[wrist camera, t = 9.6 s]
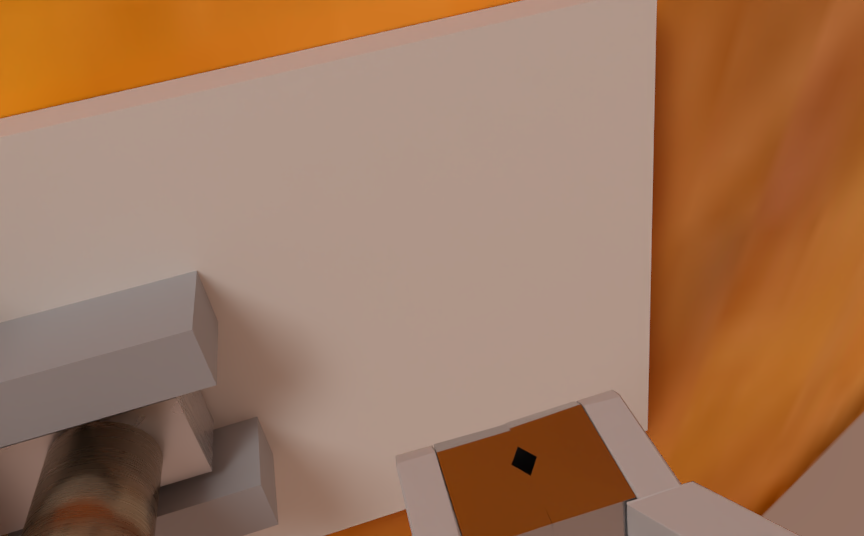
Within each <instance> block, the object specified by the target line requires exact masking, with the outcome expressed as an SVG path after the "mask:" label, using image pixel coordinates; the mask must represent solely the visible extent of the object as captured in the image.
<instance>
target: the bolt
mask: <svg viewBox="0 0 864 536" xmlns="http://www.w3.org/2000/svg"><path fill="white" fill-rule="evenodd" d="M213 425H214V419H213V417H212V415H211V413H210V411H209V409H208V407H207V404H206V402H205V400H204V398H203V396H202V394H201V391H200V390H198V391H195V392H191V393H188V394H184V395H181V396H177V397H174V398H170V399H167V400H164V401H160V402H157V403H153V404H150V405H146V406H143V407H139V408H136V409H132V410H129V411H126V412H122V413H119V414H115V415H112V416H108V417H105V418H101V419H98V420H94V421H91V422H87V423H84V424H81V425H77V426H74V427H70V428H67V429H63V430H60V431H56V432H53V433H49V434H46V435H42V436H39V437H36V438H32V439H29V440H25V441H22V442H18V443H15V444H11V445H8V446H4V447H1V448H0V536H1V535H5V534H8V533H11V532H15V531H18V530H21V529H23V531H22V534H21V536H155V528H156V519H157V510H158V501H159V493H160V487H162V486H165V485H168V484H172V483H175V482H178V481H181V480H185V479H188V478H191V477H195V476H198V475H201V474H204V473H208V472H211V471H212V462H213Z"/></svg>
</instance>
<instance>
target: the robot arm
mask: <svg viewBox="0 0 864 536" xmlns="http://www.w3.org/2000/svg"><path fill="white" fill-rule="evenodd" d="M434 449H435V450H434ZM395 457H396V468H397V473H398V477H399V481H400V485H401V490H402V494H403V498H404V502H405V507H406V511H407V515H408V519H409V524H410V528H411V532H412V536H800V535H798V534H796V533H794V532H792V531H790V530H788V529H786V528H784V527H782V526H780V525H778V524H776V523H774V522H772V521H770V520H768V519H766V518H764V517H762V516H760V515H758V514H756V513H754V512H752V511H750V510H749V509H747V508H745V507H743V506H741V505H739V504H737V503H735V502H733V501H731V500H729V499H727V498H725V497H723V496H721V495H719V494H717V493H715V492H713V491H711V490H709V489H707V488H705V487H703V486H701V485H699V484H697V483H695V482H694V481H692V482H688V483H685V484H681V483H680V482H679V480H678V479H677V477H676V476H675V474H674V473H673V471H672V470H671V468H670V467H669V466H668V464H667V463H666V461H665V460H664V458H663V457H662V455H661V454H660V452H659V451H658V450H657V448H656V447H655V445H654V444H653V442H652V441H651V439H650V438H649V436H648V435H647V433H646V432H645V431H644V429H643V428H642V426H641V425H640V423H639V422H638V420H637V419H636V417H635V416H634V415H633V413H632V412H631V410H630V409H629V407H628V406H627V404H626V403H625V401H624V400H623V399H622V397H621V396H620V394H619V393H617V392H615V391H614V390H610V391H606V392H603V393H600V394H597V395H594V396H590V397H587V398H584V399H581V400H577V401H576V402H574V401H573V402H570V403H567V404H563V405H560V406H557V407H554V408H551V409H548V410H545V411H542V412H538V413H535V414H532V415H529V416H526V417H523V418H520V419H517V420H513V421H510V422H507V423H505V424H504V425H501V426H497V427H494V428H490V429H487V430H483V431H479V432H476V433H472V434H469V435H465V436H461V437H458V438H454V439H451V440H447V441H444V442H440V443H436V444H434V448H433V445H431V446H428V447H424V448H421V449H417V450H414V451H410V452H407V453H403V454H400V455H396V456H395Z"/></svg>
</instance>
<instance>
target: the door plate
mask: <svg viewBox="0 0 864 536" xmlns="http://www.w3.org/2000/svg"><path fill="white" fill-rule="evenodd" d="M656 13H657V0H523V1H518V2H514V3H509V4H505V5H501V6H496V7H492V8H487V9H483V10H479V11H474V12H470V13H465V14H461V15H456V16H452V17H448V18H443V19H439V20H434V21H430V22H426V23H421V24H417V25H412V26H408V27H403V28H399V29H395V30H390V31H386V32H381V33H377V34H373V35H368V36H364V37H359V38H355V39H350V40H346V41H342V42H337V43H333V44H328V45H324V46H320V47H315V48H311V49H306V50H302V51H297V52H293V53H289V54H284V55H280V56H275V57H271V58H267V59H262V60H258V61H253V62H249V63H244V64H240V65H236V66H231V67H227V68H222V69H218V70H214V71H209V72H205V73H200V74H196V75H192V76H187V77H183V78H178V79H174V80H169V81H165V82H161V83H156V84H152V85H147V86H143V87H139V88H134V89H130V90H125V91H121V92H116V93H112V94H108V95H103V96H99V97H94V98H90V99H86V100H81V101H77V102H72V103H68V104H63V105H59V106H55V107H50V108H46V109H41V110H37V111H33V112H28V113H24V114H19V115H15V116H10V117H6V118H2V119H0V448H1V447H4V446H8V445H11V444H15V443H18V442H22V441H25V440H29V439H32V438H36V437H39V436H42V435H46V434H49V433H53V432H56V431H60V430H63V429H67V428H70V427H74V426H77V425H81V424H84V423H87V422H91V421H94V420H98V419H101V418H105V417H108V416H112V415H115V414H119V413H122V412H126V411H129V410H132V409H136V408H139V407H143V406H146V405H150V404H153V403H157V402H160V401H164V400H167V399H170V398H174V397H177V396H181V395H184V394H188V393H191V392H195V391H198V390H200V391H201V394H202V396H203V398H204V400H205V402H206V404H207V407H208V409H209V411H210V413H211V415H212V417H213V419H214V425H213V462H212V471H211V472H208V473H204V474H201V475H198V476H195V477H191V478H188V479H185V480H181V481H178V482H175V483H172V484H168V485H165V486H162V487H160V493H159V501H158V510H157V519H156V528H155V536H325V535H328V534H331V533H334V532H337V531H340V530H343V529H346V528H349V527H353V526H356V525H359V524H362V523H365V522H368V521H371V520H374V519H377V518H380V517H383V516H386V515H389V514H392V513H396V512H399V511H402V510H405V509H406V507H405V502H404V498H403V494H402V490H401V485H400V481H399V477H398V473H397V468H396V457H395V456H396V455H400V454H403V453H407V452H410V451H414V450H417V449H421V448H424V447H428V446H431V445H433V448H434V444H436V443H440V442H444V441H447V440H451V439H454V438H458V437H461V436H465V435H469V434H472V433H476V432H479V431H483V430H487V429H490V428H494V427H497V426H501V425H504V424H505V423H507V422H510V421H513V420H517V419H520V418H523V417H526V416H529V415H532V414H535V413H538V412H542V411H545V410H548V409H551V408H554V407H557V406H560V405H563V404H567V403H570V402H573V401H574V402H576V401H577V400H581V399H584V398H587V397H590V396H594V395H597V394H600V393H603V392H606V391H610V390H614V391H615V392H617V393H619V394H620V396H621V397H622V399H623V400H624V401H625V403H626V404H627V406H628V407H629V409H630V410H631V412H632V413H633V415H634V416H635V417H636V419H637V420H638V422H639V423H640V425H641V426H642V428H643V429H644V431H647V430H648V386H649V339H650V293H651V246H652V200H653V153H654V106H655V60H656ZM434 450H435V449H434ZM22 531H23V529H21V530H18V531H15V532H11V533H8V534H5V535H1V536H21V534H22Z"/></svg>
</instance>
